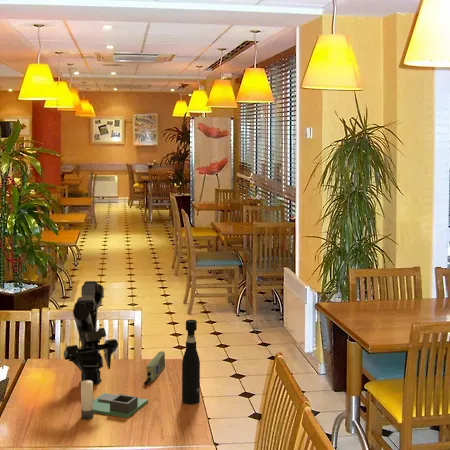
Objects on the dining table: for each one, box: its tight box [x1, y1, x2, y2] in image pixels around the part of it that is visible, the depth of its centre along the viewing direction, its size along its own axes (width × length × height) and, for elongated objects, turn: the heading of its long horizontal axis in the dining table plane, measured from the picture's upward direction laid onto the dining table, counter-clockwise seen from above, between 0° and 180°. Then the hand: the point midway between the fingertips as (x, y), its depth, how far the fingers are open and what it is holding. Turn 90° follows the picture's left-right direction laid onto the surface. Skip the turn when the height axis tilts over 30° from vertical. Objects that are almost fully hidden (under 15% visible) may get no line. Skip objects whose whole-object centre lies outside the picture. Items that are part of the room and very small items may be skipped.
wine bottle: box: [181, 319, 201, 406], centre depth 275 cm, size 6×6×30 cm
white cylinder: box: [80, 380, 94, 421], centre depth 261 cm, size 4×4×12 cm
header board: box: [93, 392, 149, 419], centre depth 271 cm, size 18×16×4 cm
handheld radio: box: [143, 350, 166, 386], centre depth 304 cm, size 7×3×25 cm
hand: (96, 370), depth 267 cm, fingers open, 9 cm apart
